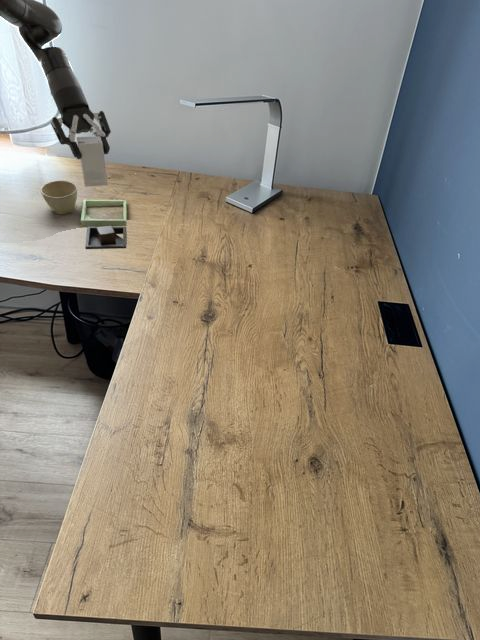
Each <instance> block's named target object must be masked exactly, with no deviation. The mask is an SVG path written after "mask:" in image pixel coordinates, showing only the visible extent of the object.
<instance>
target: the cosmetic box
mask: <svg viewBox="0 0 480 640" xmlns="http://www.w3.org/2000/svg"><path fill="white" fill-rule="evenodd" d="M76 140H77V141H76V143H77V145H78V147H79V150H80V152H81V154H82V157H81V159H79V161H80V166H81V171H82V178H83V182H84V187H103V186H104V187H105V186H108V178H107V177H108V176H107V169H106V168H107V167H106V160H105V154H104V151H103V143H102V140H101V137H100V136H98V137H96V136H77V137H76Z"/></svg>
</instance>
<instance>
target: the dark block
mask: <svg viewBox="0 0 480 640" xmlns="http://www.w3.org/2000/svg"><path fill="white" fill-rule="evenodd" d="M112 227H113V226H103V227H97V235H98V241H99V243H100V245H116V239H115V232H114V230H113V228H112Z"/></svg>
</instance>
